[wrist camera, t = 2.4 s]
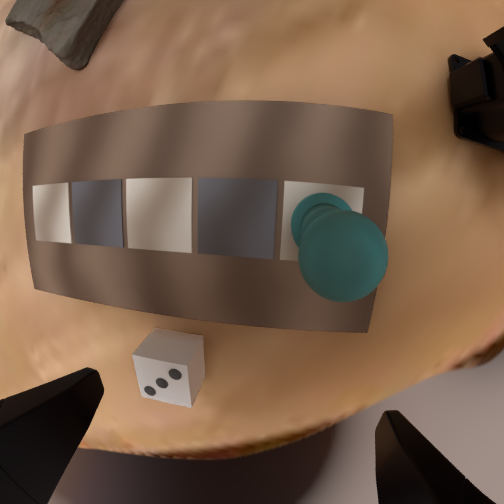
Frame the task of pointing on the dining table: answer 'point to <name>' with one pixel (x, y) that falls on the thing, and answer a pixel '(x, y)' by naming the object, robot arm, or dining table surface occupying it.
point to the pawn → (338, 248)
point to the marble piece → (64, 25)
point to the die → (170, 366)
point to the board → (200, 207)
